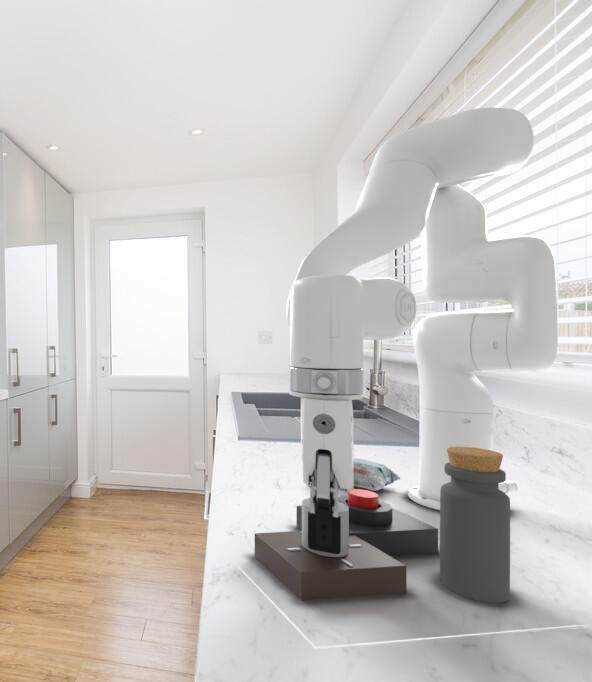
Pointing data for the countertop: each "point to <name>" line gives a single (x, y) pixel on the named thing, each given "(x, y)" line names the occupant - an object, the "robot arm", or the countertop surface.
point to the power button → (363, 499)
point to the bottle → (475, 526)
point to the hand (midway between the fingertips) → (324, 539)
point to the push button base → (388, 530)
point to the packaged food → (372, 475)
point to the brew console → (329, 568)
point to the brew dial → (344, 514)
